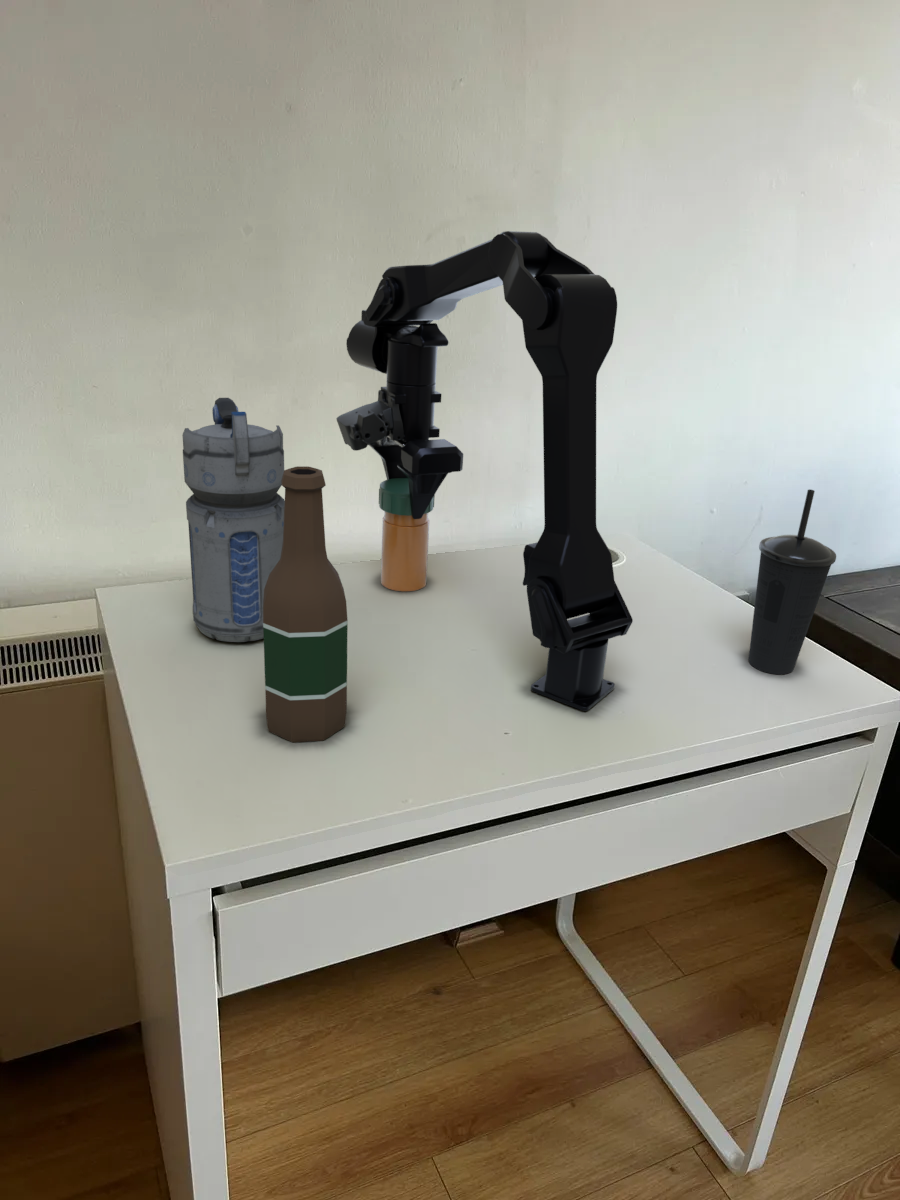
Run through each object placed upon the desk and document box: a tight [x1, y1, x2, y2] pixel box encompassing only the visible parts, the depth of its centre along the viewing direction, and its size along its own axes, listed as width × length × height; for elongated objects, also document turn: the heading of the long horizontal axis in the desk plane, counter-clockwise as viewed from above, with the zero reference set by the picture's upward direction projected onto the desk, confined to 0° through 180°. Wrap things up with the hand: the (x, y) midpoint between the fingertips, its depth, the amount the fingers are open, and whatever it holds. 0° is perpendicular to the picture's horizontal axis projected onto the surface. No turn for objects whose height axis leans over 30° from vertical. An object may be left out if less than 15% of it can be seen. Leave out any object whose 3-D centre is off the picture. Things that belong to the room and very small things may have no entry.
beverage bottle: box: [181, 397, 285, 643], centre depth 96 cm, size 10×13×25 cm
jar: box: [380, 511, 430, 592], centre depth 113 cm, size 6×6×11 cm
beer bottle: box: [263, 466, 349, 743], centre depth 78 cm, size 8×8×24 cm
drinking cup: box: [748, 489, 837, 675], centre depth 95 cm, size 8×8×20 cm
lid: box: [378, 478, 436, 516], centre depth 110 cm, size 7×7×3 cm
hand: (406, 509), depth 111 cm, fingers closed on lid, 6 cm apart
